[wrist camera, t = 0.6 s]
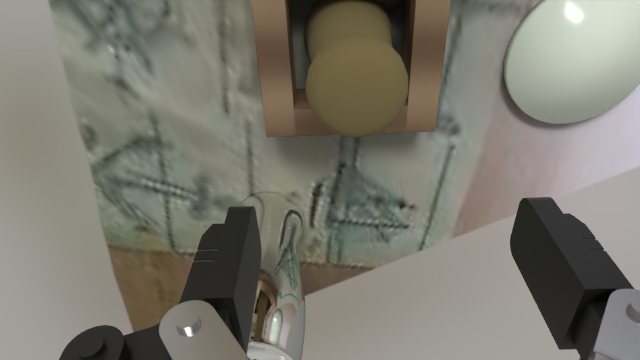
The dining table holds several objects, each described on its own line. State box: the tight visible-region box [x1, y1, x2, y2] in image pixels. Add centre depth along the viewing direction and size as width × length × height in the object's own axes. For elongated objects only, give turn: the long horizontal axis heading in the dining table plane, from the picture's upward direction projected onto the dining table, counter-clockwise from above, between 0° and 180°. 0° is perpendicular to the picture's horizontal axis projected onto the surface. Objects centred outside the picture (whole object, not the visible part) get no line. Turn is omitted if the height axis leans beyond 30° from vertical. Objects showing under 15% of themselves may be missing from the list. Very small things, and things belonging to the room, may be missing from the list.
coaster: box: [503, 0, 640, 124], centre depth 31 cm, size 10×10×1 cm
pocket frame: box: [251, 0, 451, 137], centre depth 29 cm, size 12×12×4 cm
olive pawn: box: [304, 0, 408, 137], centre depth 26 cm, size 6×6×11 cm
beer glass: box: [239, 192, 305, 360], centre depth 33 cm, size 7×7×15 cm
